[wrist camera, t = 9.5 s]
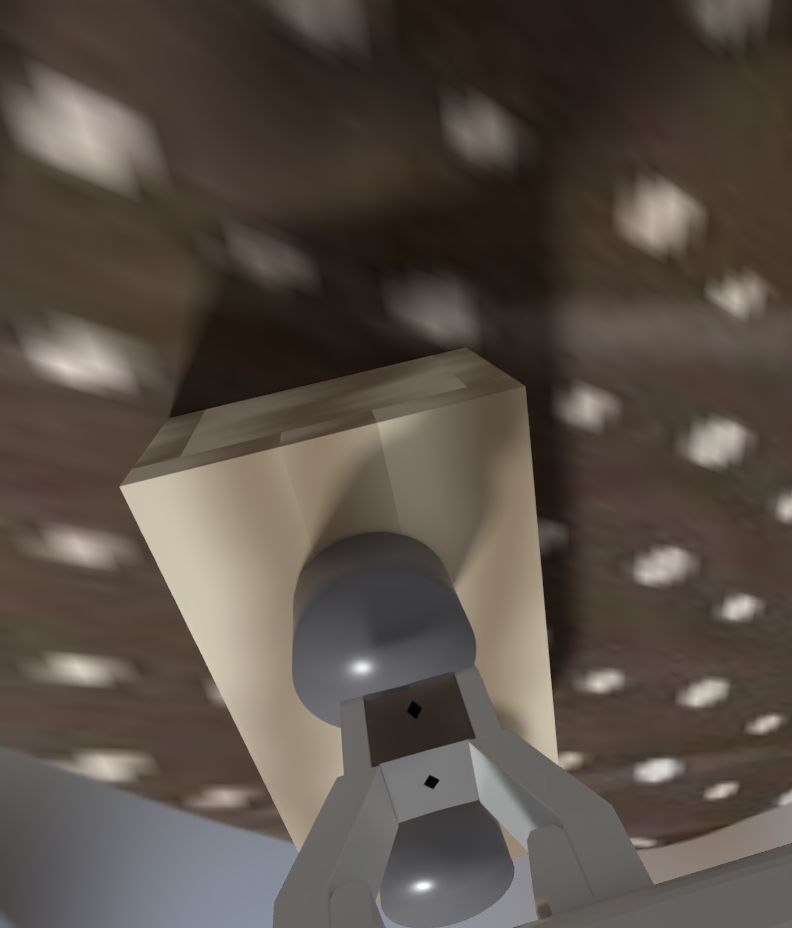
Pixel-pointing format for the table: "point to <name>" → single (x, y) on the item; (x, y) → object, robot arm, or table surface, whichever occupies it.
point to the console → (342, 516)
